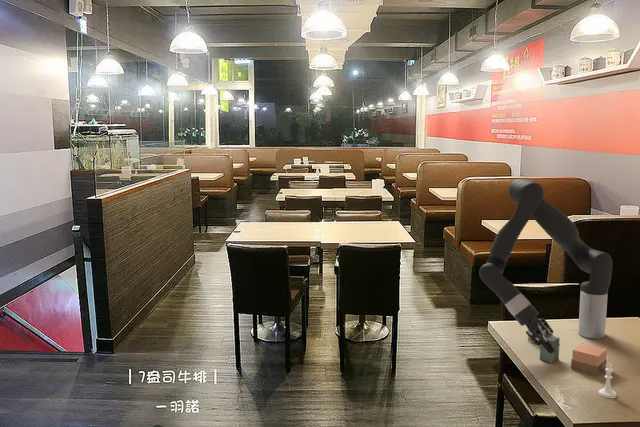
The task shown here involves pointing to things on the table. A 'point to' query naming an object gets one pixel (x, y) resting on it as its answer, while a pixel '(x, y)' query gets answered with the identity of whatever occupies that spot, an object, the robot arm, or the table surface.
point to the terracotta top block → (589, 354)
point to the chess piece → (607, 385)
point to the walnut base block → (588, 367)
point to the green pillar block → (545, 354)
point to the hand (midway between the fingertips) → (555, 349)
